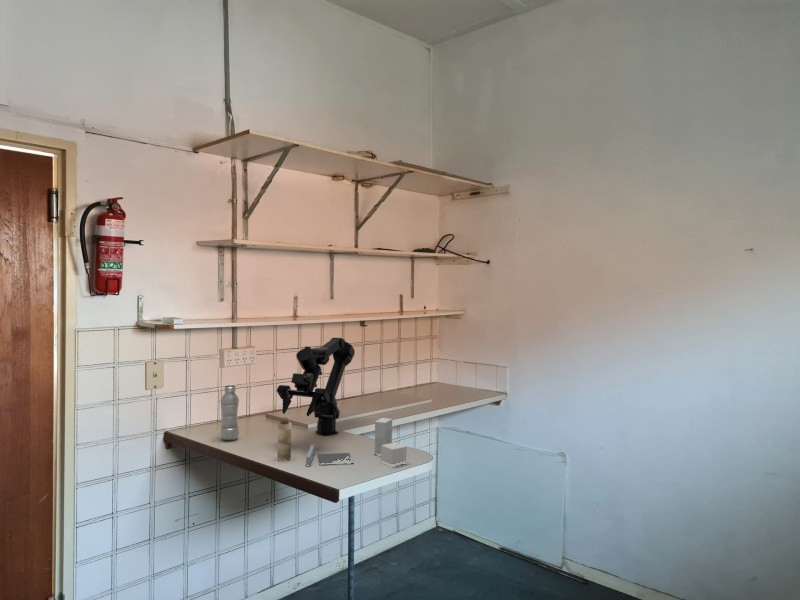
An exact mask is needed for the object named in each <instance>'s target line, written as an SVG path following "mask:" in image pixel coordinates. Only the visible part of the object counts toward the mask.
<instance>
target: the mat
mask: <svg viewBox="0 0 800 600" xmlns="http://www.w3.org/2000/svg"><path fill="white" fill-rule="evenodd" d="M316 455H318V456H317V460H318V459H319V460H318V463H320V464H321V463H325V464H326V463H332V462H333V461H337V460H338V459H339V460H341V459H343V460H344V459H345V458H346V457H347V456H349V458H350V457H351V458H352V456H351V454H350V452H341V453H340V452H339V453H338V452H336V453H317V454H316ZM349 458H348V459H346V460H349V461H350V460H351V459H349ZM343 460H341V461H343ZM320 464H319V465H320Z"/></svg>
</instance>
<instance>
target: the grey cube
mask: <svg viewBox="0 0 800 600" xmlns="http://www.w3.org/2000/svg"><path fill="white" fill-rule="evenodd" d="M381 460H382V461H384V462H387V463H389V464H396V463H400V462H403V461H406V462H407V446H406V445H404V444H401V443H398V442H392V443H390V444H385V445H381V456H380V461H381Z"/></svg>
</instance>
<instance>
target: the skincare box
mask: <svg viewBox="0 0 800 600" xmlns="http://www.w3.org/2000/svg"><path fill="white" fill-rule="evenodd" d="M390 443H393V419H392V418H386V417H381V418H379V419H377V420H375V422H374V454H375V453H377V454H381V445H385V444H390Z"/></svg>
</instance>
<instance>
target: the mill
mask: <svg viewBox="0 0 800 600" xmlns="http://www.w3.org/2000/svg"><path fill="white" fill-rule="evenodd" d="M276 453H277V454H276V455H277V458H278V459H280V460H288V459H290V458H292V422H290V420H289V418H288V417H282V418H281V419H280V421H279V422H278V423H277V451H276ZM290 460H291V459H290ZM288 461H289V460H288Z"/></svg>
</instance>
